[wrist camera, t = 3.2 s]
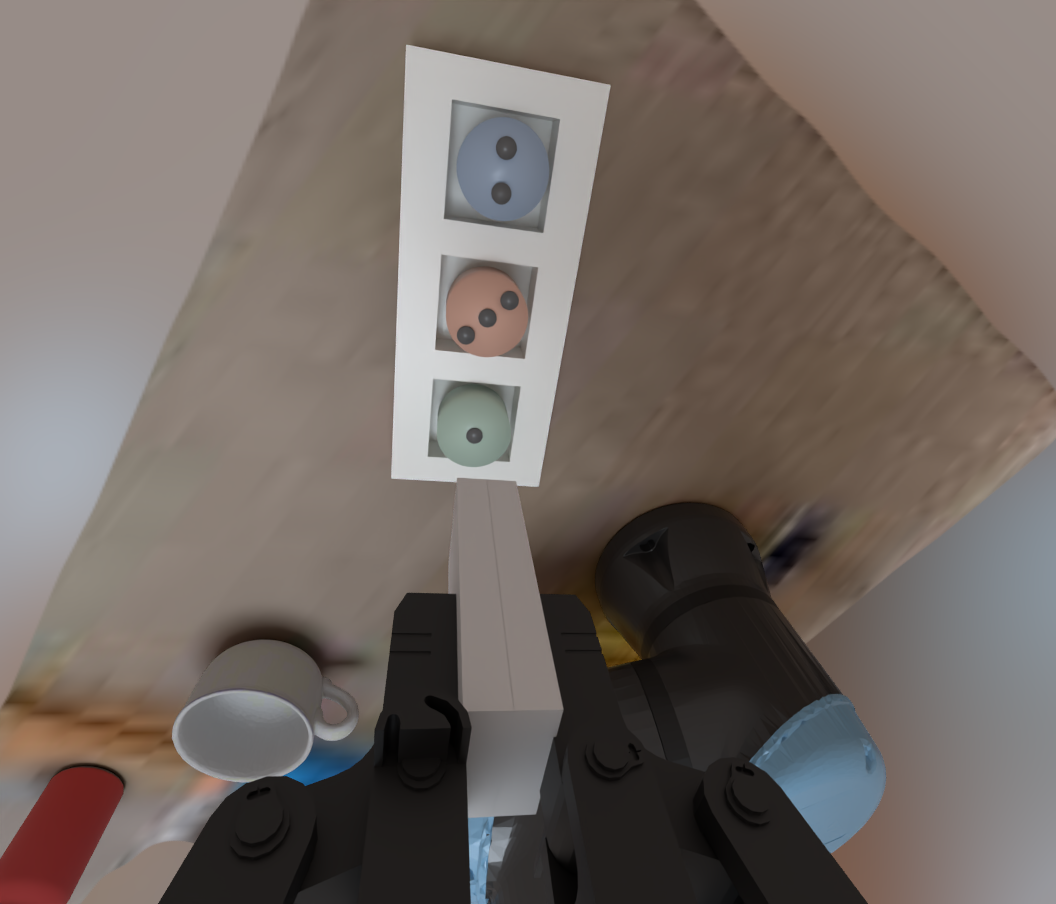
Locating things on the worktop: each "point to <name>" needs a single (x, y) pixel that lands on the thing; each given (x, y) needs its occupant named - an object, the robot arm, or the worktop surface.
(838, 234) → the worktop surface
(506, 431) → the one pip button
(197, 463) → the worktop surface
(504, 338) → the three pip button
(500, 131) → the two pip button
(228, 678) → the teacup
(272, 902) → the robot arm
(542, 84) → the button panel
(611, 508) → the worktop surface
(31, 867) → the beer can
